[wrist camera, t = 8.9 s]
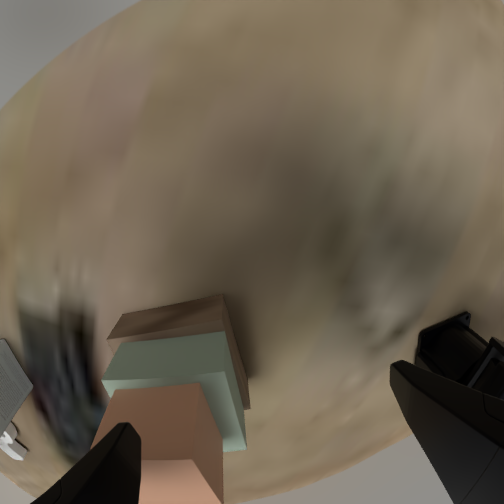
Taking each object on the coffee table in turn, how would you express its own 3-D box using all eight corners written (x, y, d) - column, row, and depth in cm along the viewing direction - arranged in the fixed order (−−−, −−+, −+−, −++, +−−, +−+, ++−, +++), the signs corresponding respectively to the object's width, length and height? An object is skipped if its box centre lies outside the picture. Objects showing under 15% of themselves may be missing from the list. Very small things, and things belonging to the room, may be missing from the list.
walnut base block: (222, 292, 22) (221, 319, 18) (247, 376, 24) (250, 408, 20) (123, 312, 21) (106, 339, 18) (159, 389, 24) (150, 421, 20)
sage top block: (224, 330, 18) (224, 371, 14) (243, 408, 20) (247, 449, 16) (120, 343, 18) (101, 380, 14) (154, 415, 20) (145, 454, 16)
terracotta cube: (199, 382, 14) (192, 459, 9) (222, 439, 16) (223, 506, 11) (115, 389, 14) (87, 456, 9) (148, 443, 16) (135, 505, 11)
